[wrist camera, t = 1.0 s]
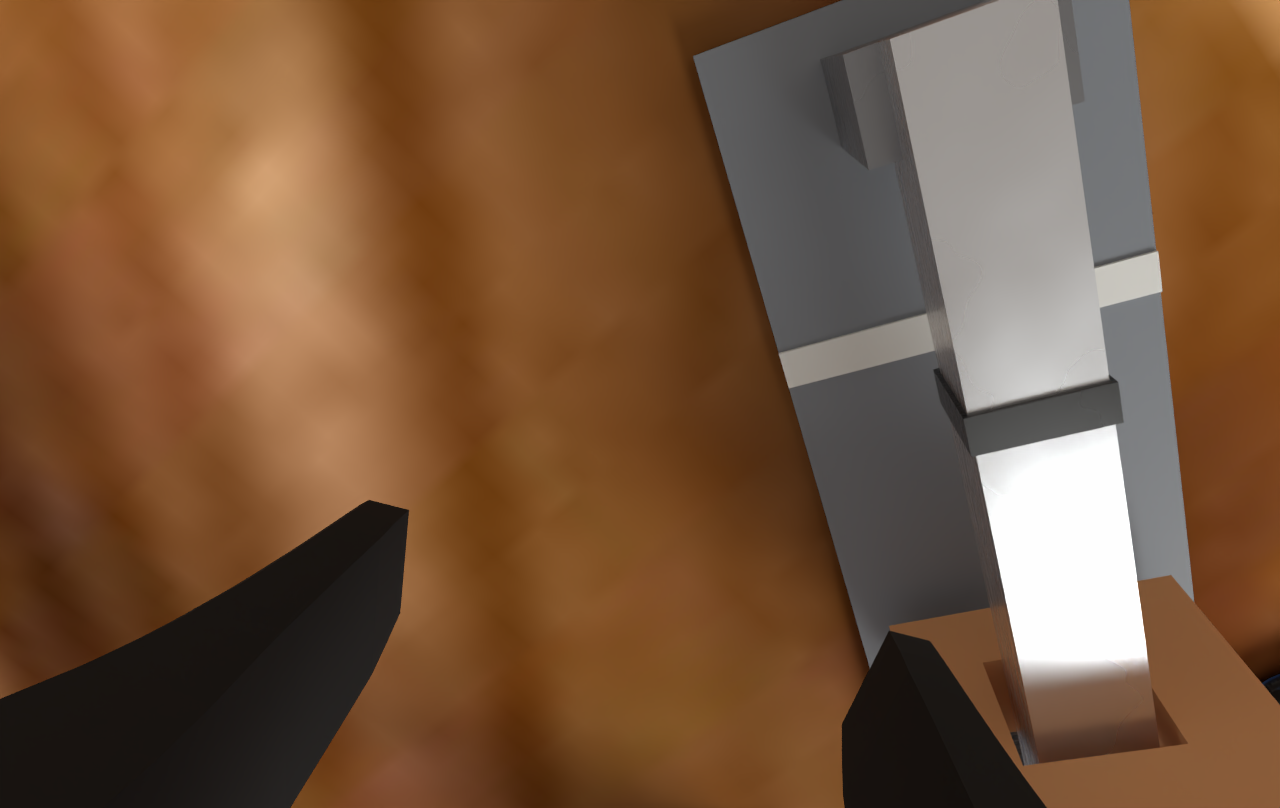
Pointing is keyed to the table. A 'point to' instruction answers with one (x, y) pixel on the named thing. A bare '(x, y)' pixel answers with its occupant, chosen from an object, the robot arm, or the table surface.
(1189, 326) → the table surface
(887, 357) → the board
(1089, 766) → the collar
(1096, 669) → the grey rail plate
